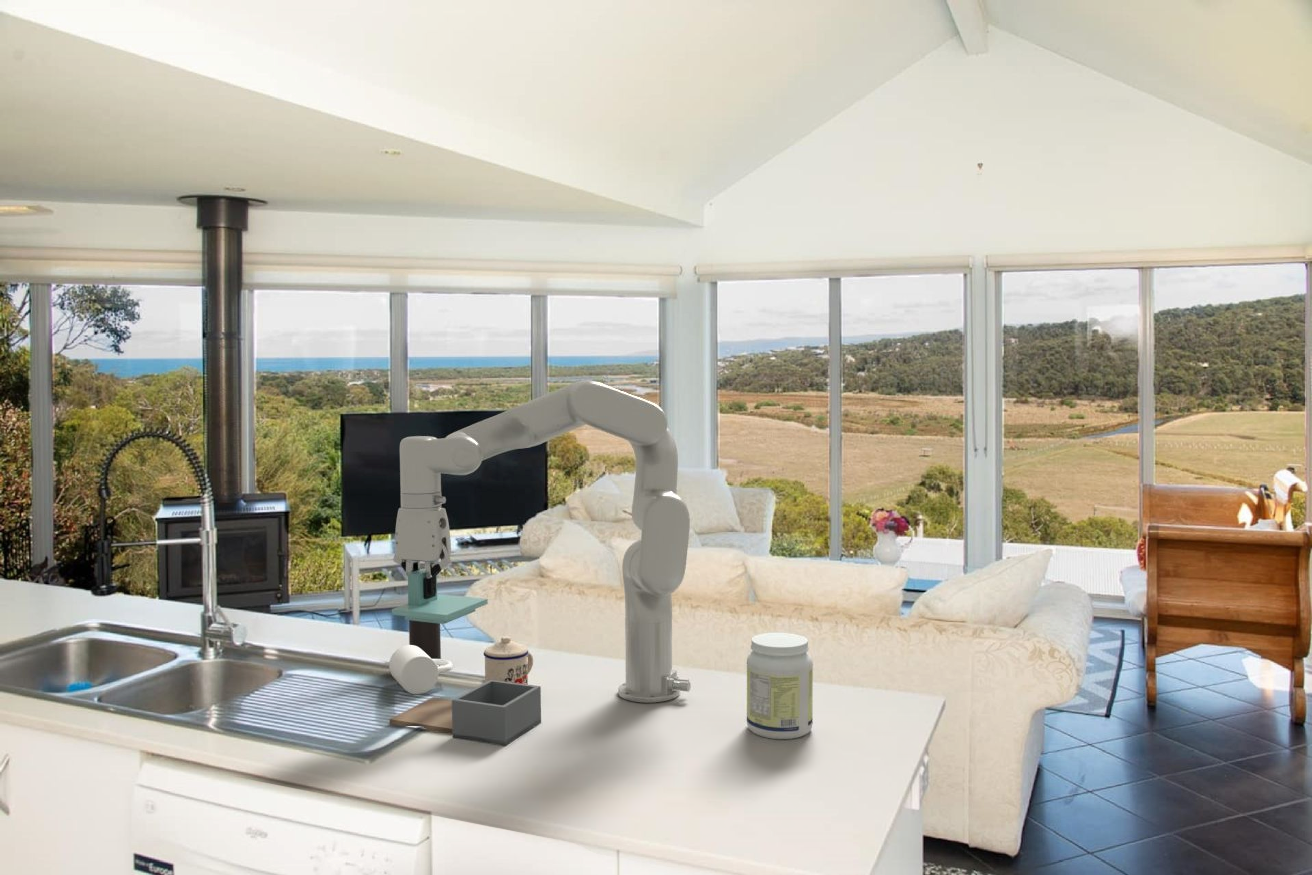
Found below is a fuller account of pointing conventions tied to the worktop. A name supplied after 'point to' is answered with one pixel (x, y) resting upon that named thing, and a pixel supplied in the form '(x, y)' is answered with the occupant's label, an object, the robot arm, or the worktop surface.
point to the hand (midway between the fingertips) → (422, 596)
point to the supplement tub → (779, 686)
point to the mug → (416, 669)
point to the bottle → (426, 637)
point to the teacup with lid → (507, 662)
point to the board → (428, 715)
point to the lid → (434, 603)
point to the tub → (496, 712)
